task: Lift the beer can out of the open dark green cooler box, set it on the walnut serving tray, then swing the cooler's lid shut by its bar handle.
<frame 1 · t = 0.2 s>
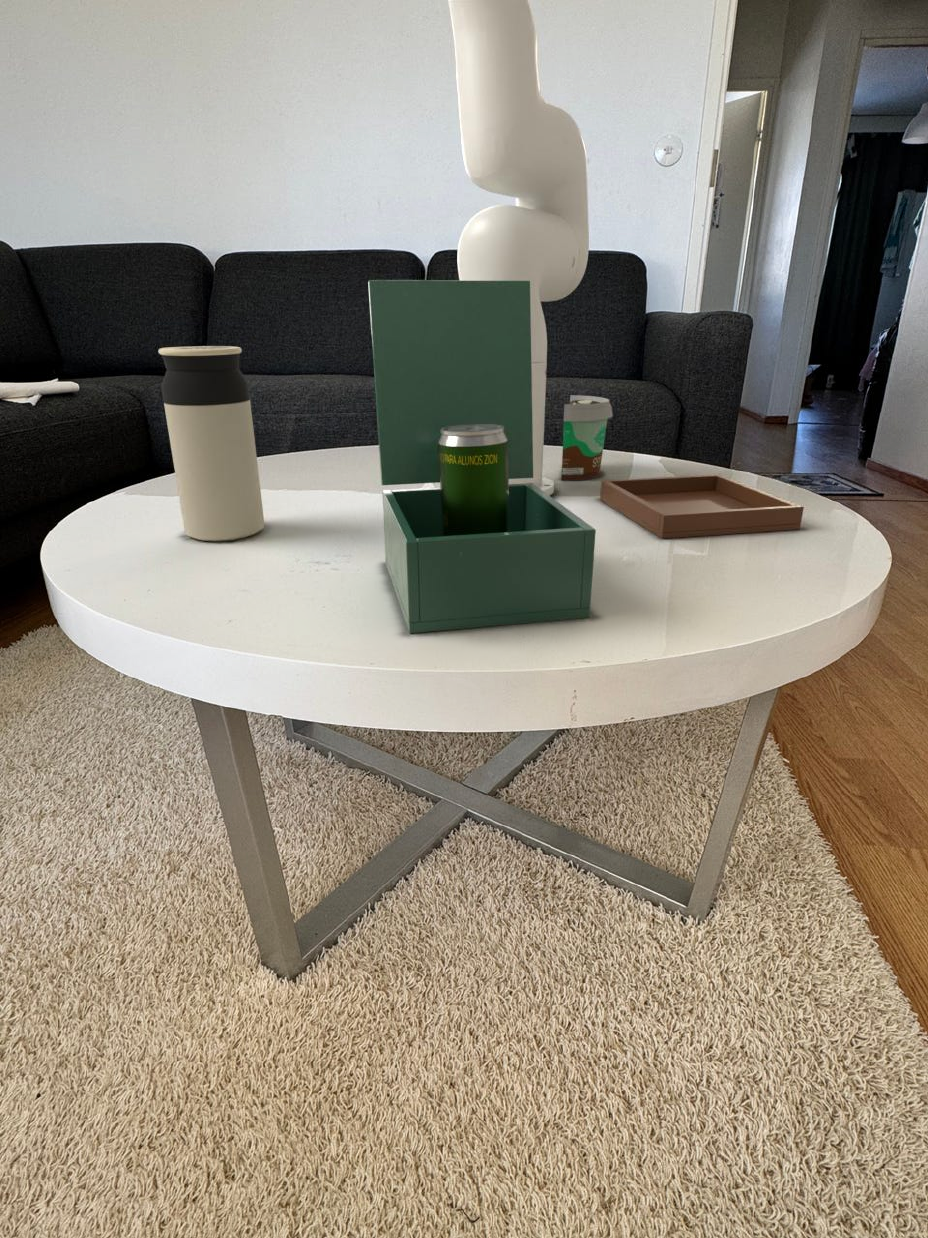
food container: (585, 475, 101), on the table
tray: (692, 513, 81), on the table
travel mug: (226, 533, 75), on the table
cooler lid: (450, 386, 64), point 15 cm above the table, hinge at 100.0°
beer can: (478, 579, 59), point 1 cm above the table, touching cooler
cooler: (477, 588, 60), on the table
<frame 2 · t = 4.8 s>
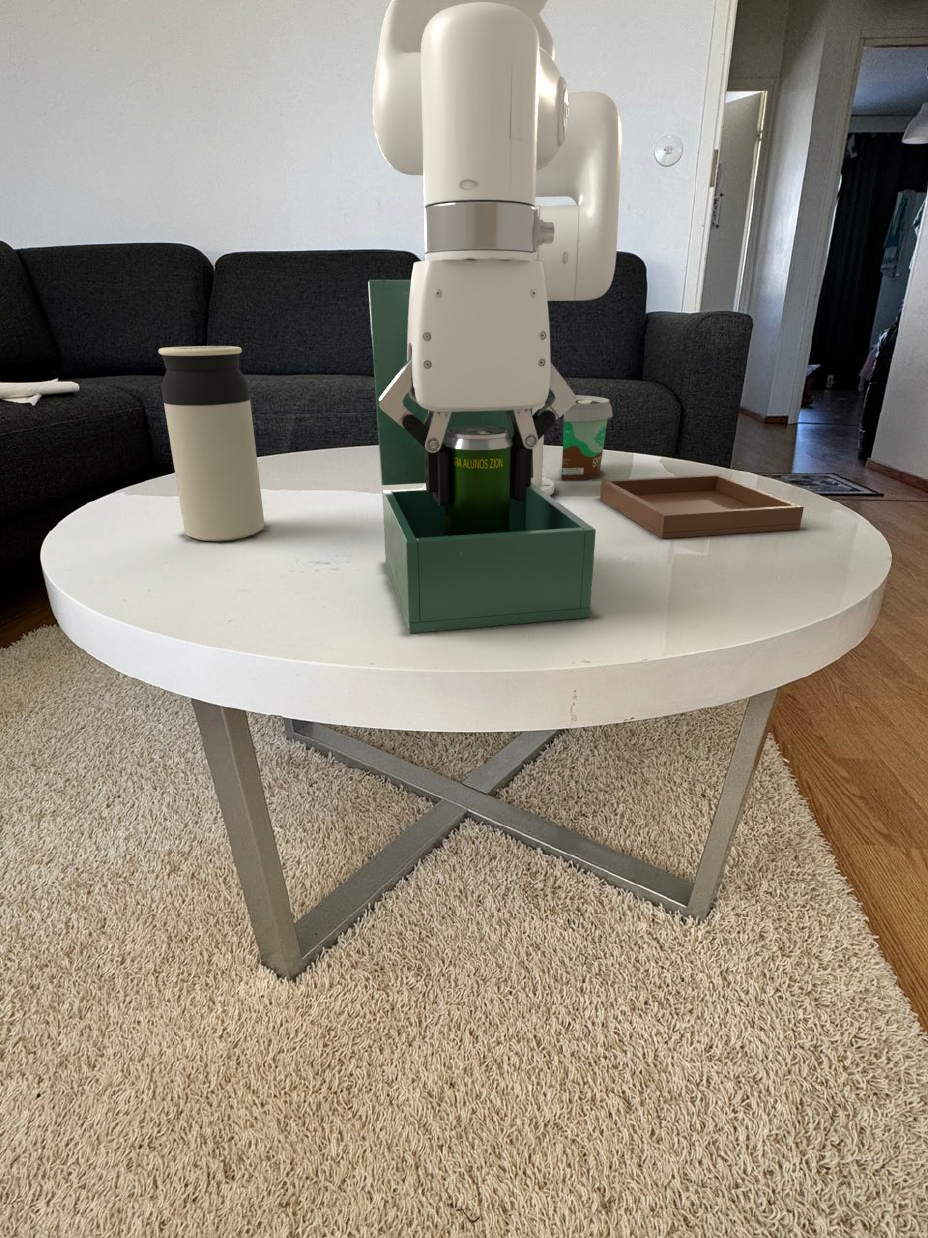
hand: (478, 496, 57), 8 cm above the table, tool pointing down, fingers closed on beer can, 5 cm apart
beer can: (478, 581, 59), point 1 cm above the table, touching cooler, gripper
everything else where it was.
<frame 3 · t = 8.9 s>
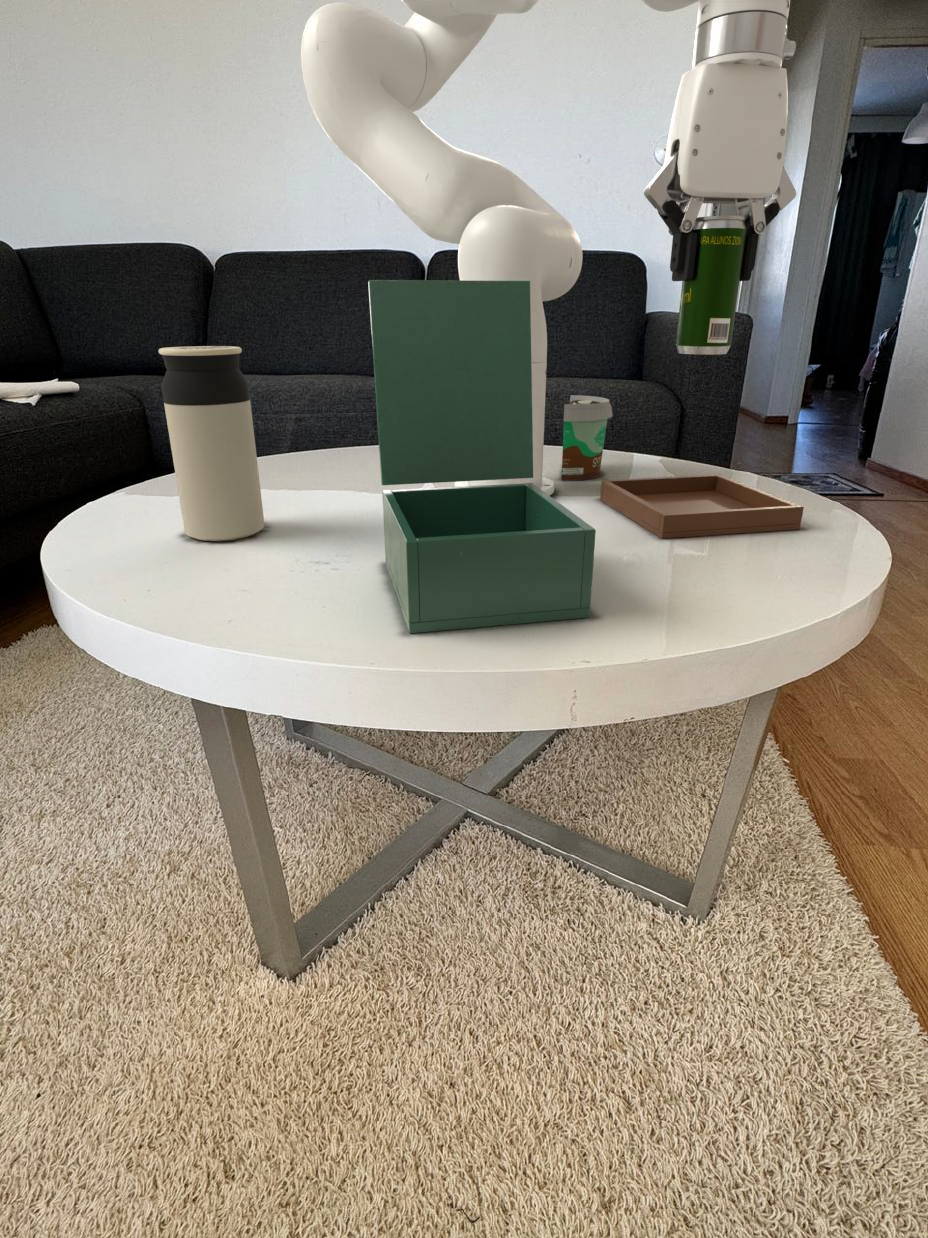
hand: (710, 278, 70), 24 cm above the table, tool pointing down, fingers closed on beer can, 5 cm apart
beer can: (701, 355, 73), point 17 cm above the table, touching gripper
everything else where it was.
when the fingers open (7 cm above the table, at t = 13.0 s): beer can stays where it is, resting on tray.
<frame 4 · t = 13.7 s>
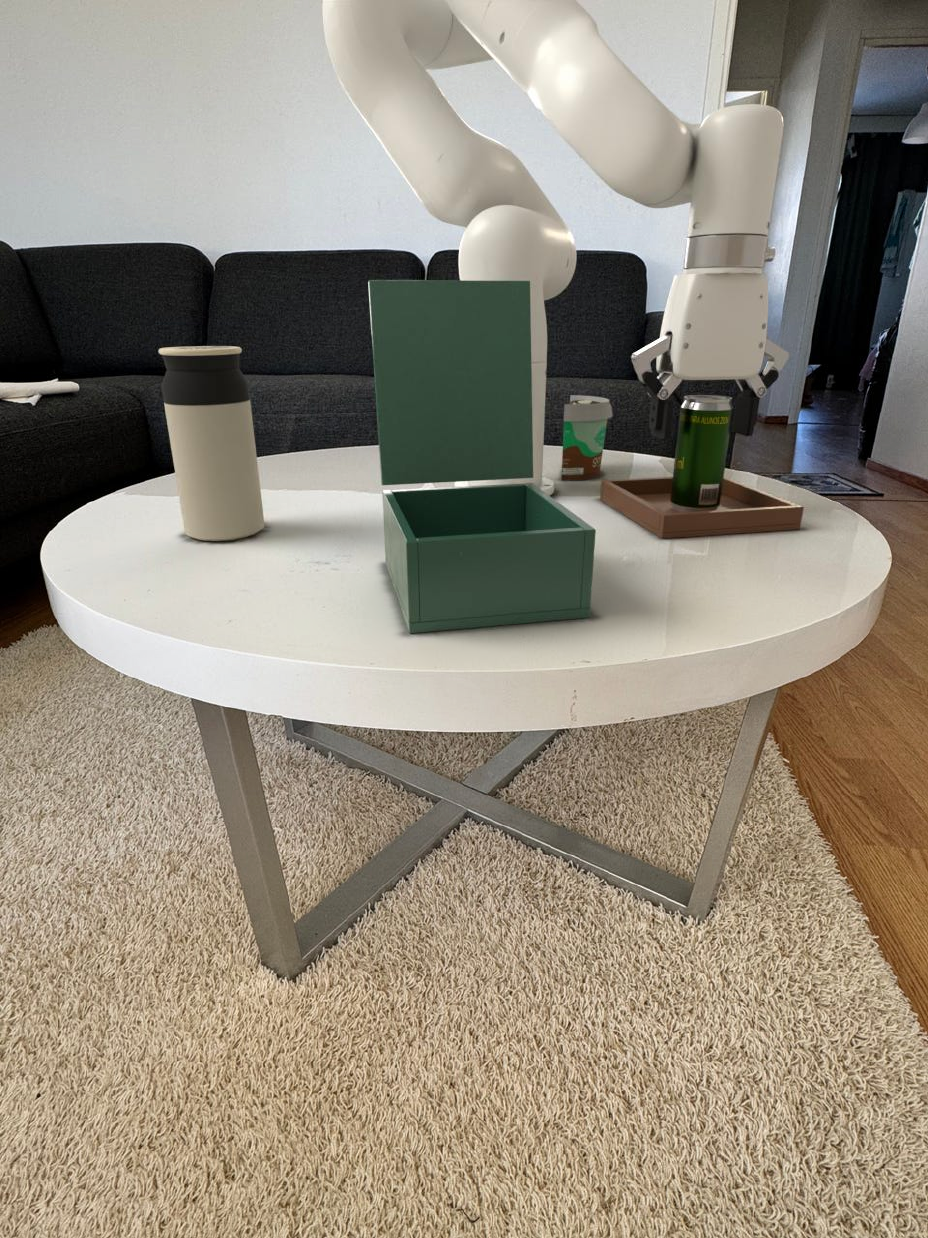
hand: (701, 435, 78), 9 cm above the table, tool pointing down, fingers open, 9 cm apart
beer can: (693, 510, 81), resting on tray
everything else where it was.
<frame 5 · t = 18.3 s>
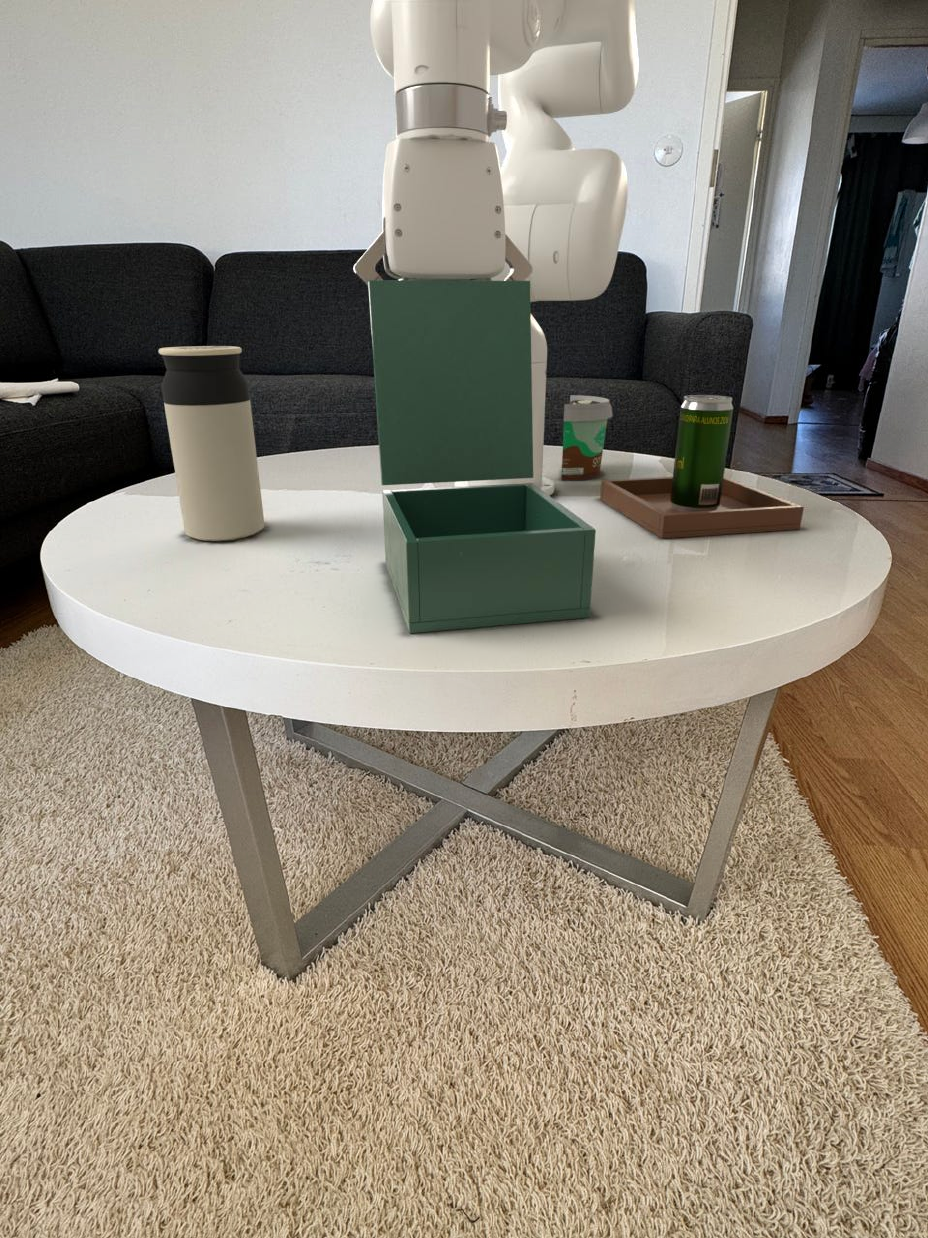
hand: (445, 360, 65), 17 cm above the table, tool pointing down, fingers closed on cooler lid, 6 cm apart
cooler lid: (450, 386, 64), point 15 cm above the table, hinge at 100.0°, touching gripper
everything else where it was.
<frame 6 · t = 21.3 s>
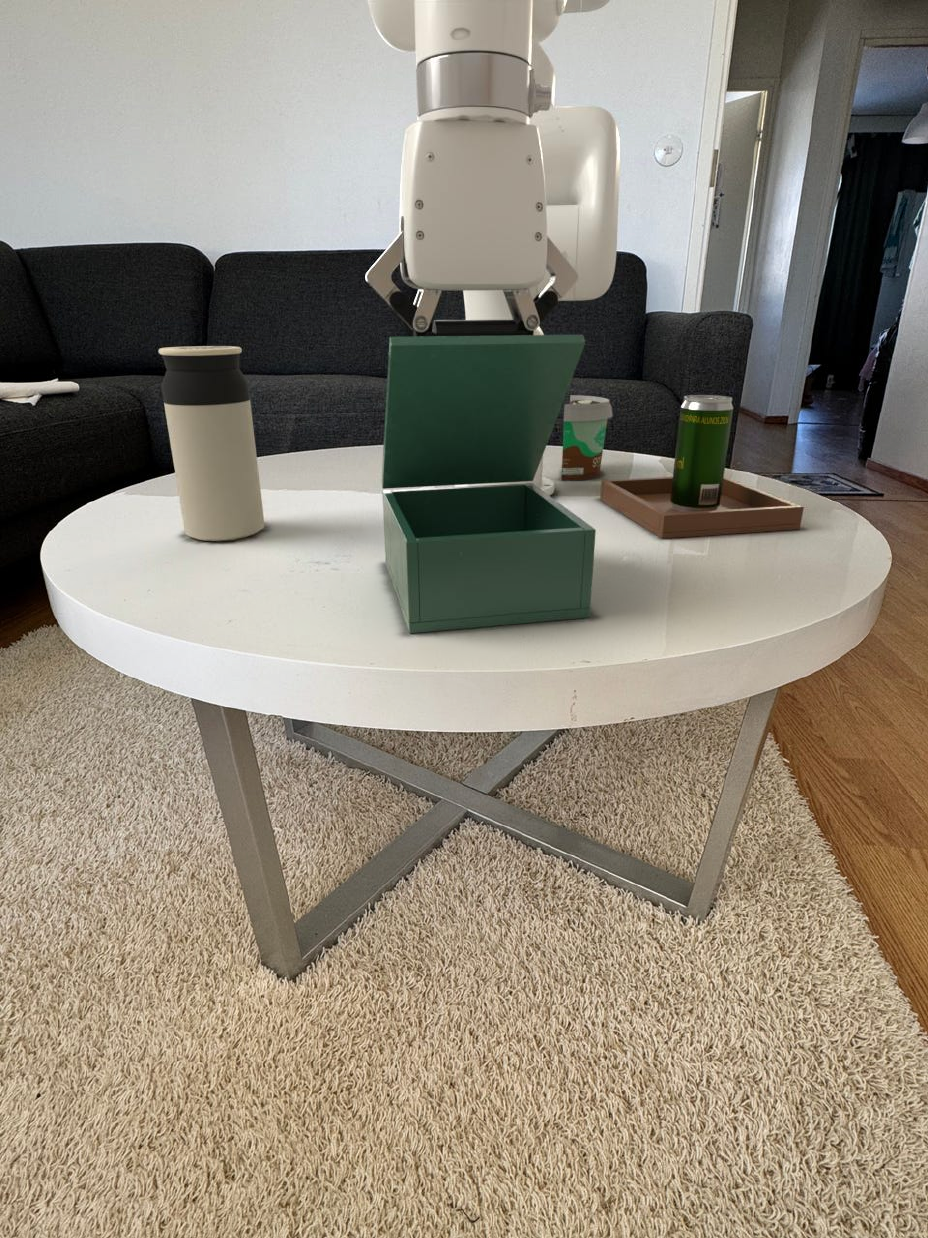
hand: (473, 384, 55), 16 cm above the table, tool pointing down, fingers closed on cooler lid, 6 cm apart
cooler lid: (467, 398, 57), point 15 cm above the table, hinge at 47.3°, touching gripper
everything else where it was.
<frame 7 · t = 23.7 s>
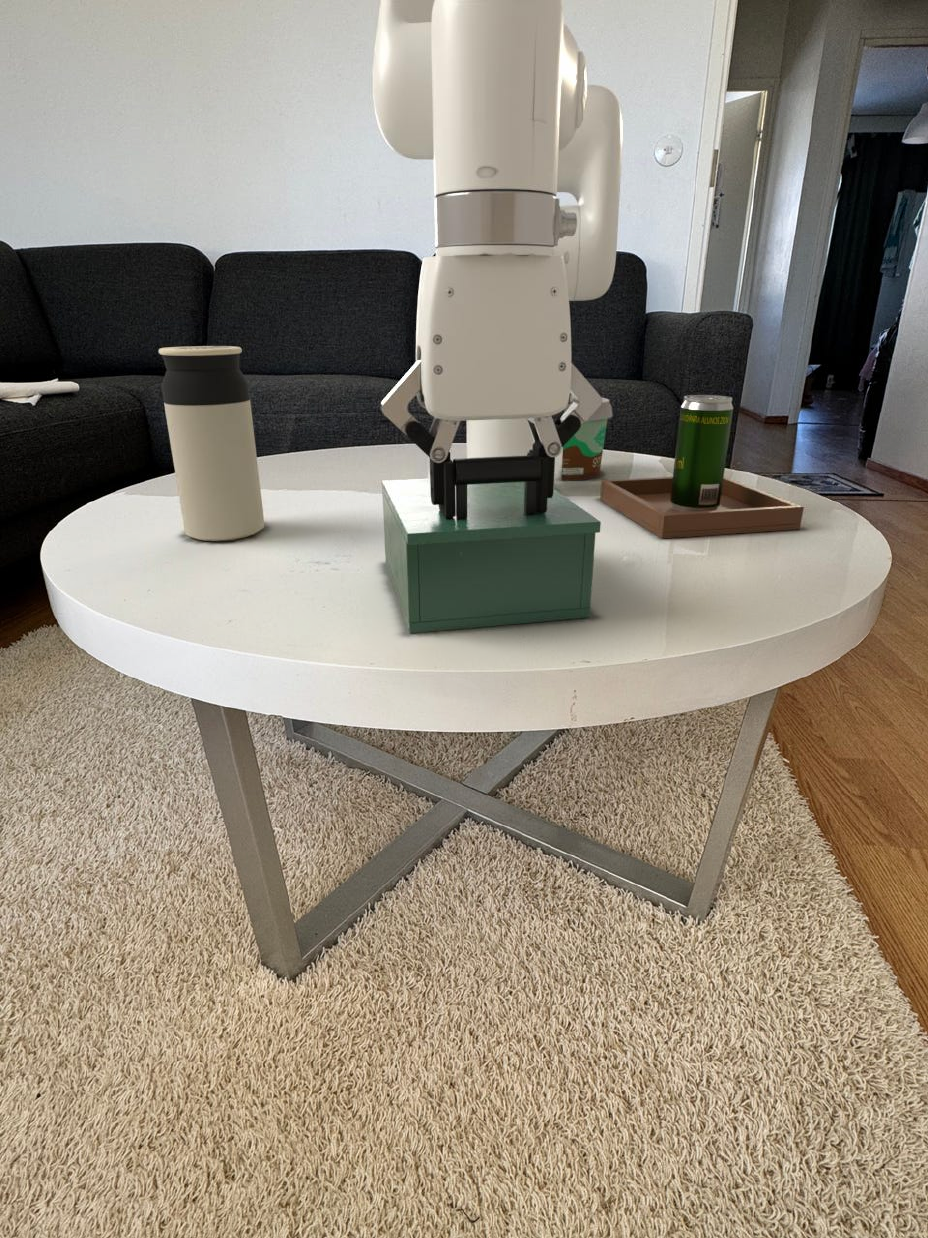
hand: (491, 508, 53), 8 cm above the table, tool pointing down, fingers closed on cooler lid, 6 cm apart
cooler lid: (479, 477, 56), point 9 cm above the table, hinge at -0.2°, touching cooler, gripper
everything else where it was.
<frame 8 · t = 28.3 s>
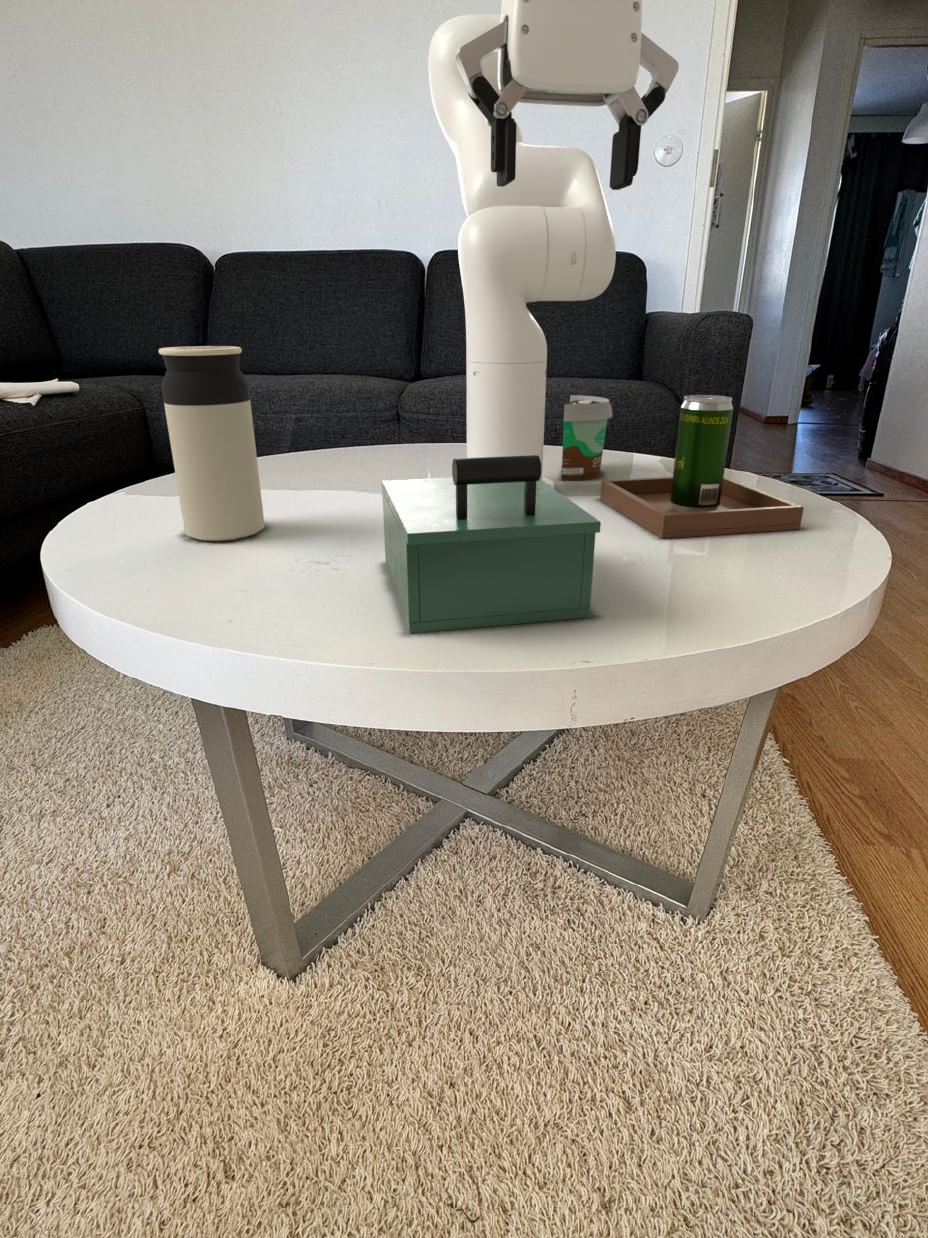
hand: (564, 185, 57), 30 cm above the table, tool pointing down, fingers open, 9 cm apart
cooler lid: (479, 477, 56), point 9 cm above the table, hinge at -0.2°, touching cooler
everything else where it was.
at the end: beer can inside the target area in the tray (0.1 cm from its centre), point 0.4 cm above the tray's base; beer can tilted 0°; cooler lid at +0° (first picture: +100°) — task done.
